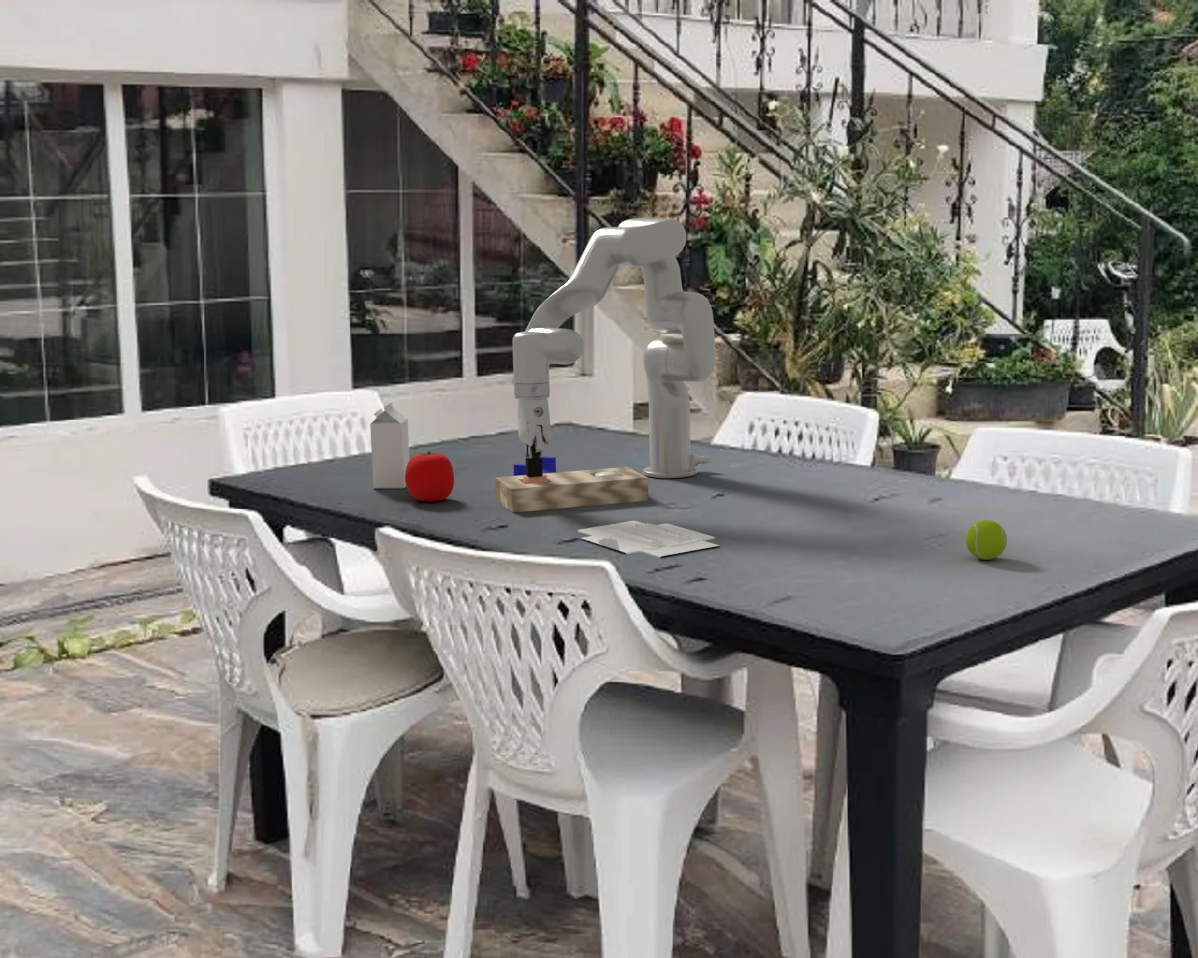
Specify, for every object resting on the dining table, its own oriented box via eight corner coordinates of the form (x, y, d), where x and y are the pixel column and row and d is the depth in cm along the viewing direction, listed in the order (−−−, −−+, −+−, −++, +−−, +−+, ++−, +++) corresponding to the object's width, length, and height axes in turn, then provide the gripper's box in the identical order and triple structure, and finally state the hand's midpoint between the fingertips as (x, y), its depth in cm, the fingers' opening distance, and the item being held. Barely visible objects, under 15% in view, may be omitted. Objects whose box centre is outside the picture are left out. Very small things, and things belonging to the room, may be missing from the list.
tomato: (447, 505, 325) (445, 456, 323) (400, 504, 327) (397, 455, 325) (461, 496, 335) (459, 447, 333) (415, 495, 337) (413, 447, 335)
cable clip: (540, 481, 351) (539, 455, 350) (556, 482, 349) (555, 457, 347) (509, 490, 341) (508, 463, 340) (525, 492, 339) (524, 465, 338)
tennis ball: (999, 554, 271) (1000, 515, 270) (1011, 563, 264) (1012, 524, 263) (960, 555, 271) (961, 516, 270) (971, 564, 264) (972, 525, 263)
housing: (627, 489, 338) (626, 466, 337) (648, 500, 325) (648, 477, 324) (496, 500, 329) (495, 477, 328) (512, 512, 316) (511, 489, 315)
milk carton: (410, 483, 351) (407, 401, 348) (404, 489, 345) (399, 405, 341) (380, 483, 352) (376, 401, 349) (373, 489, 345) (368, 406, 342)
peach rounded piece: (543, 495, 328) (543, 473, 327) (550, 499, 323) (549, 477, 322) (521, 497, 326) (520, 475, 325) (527, 501, 322) (526, 479, 321)
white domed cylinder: (614, 492, 333) (613, 471, 332) (621, 496, 328) (621, 475, 327) (592, 494, 331) (592, 473, 330) (599, 498, 326) (599, 476, 325)
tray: (648, 522, 306) (648, 504, 306) (735, 553, 284) (735, 533, 283) (562, 537, 295) (562, 518, 295) (645, 570, 273) (645, 550, 272)
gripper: (558, 393, 314) (561, 481, 318) (539, 385, 328) (541, 469, 332) (523, 395, 312) (526, 483, 315) (505, 387, 326) (508, 472, 329)
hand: (534, 476), depth 324 cm, fingers closed
